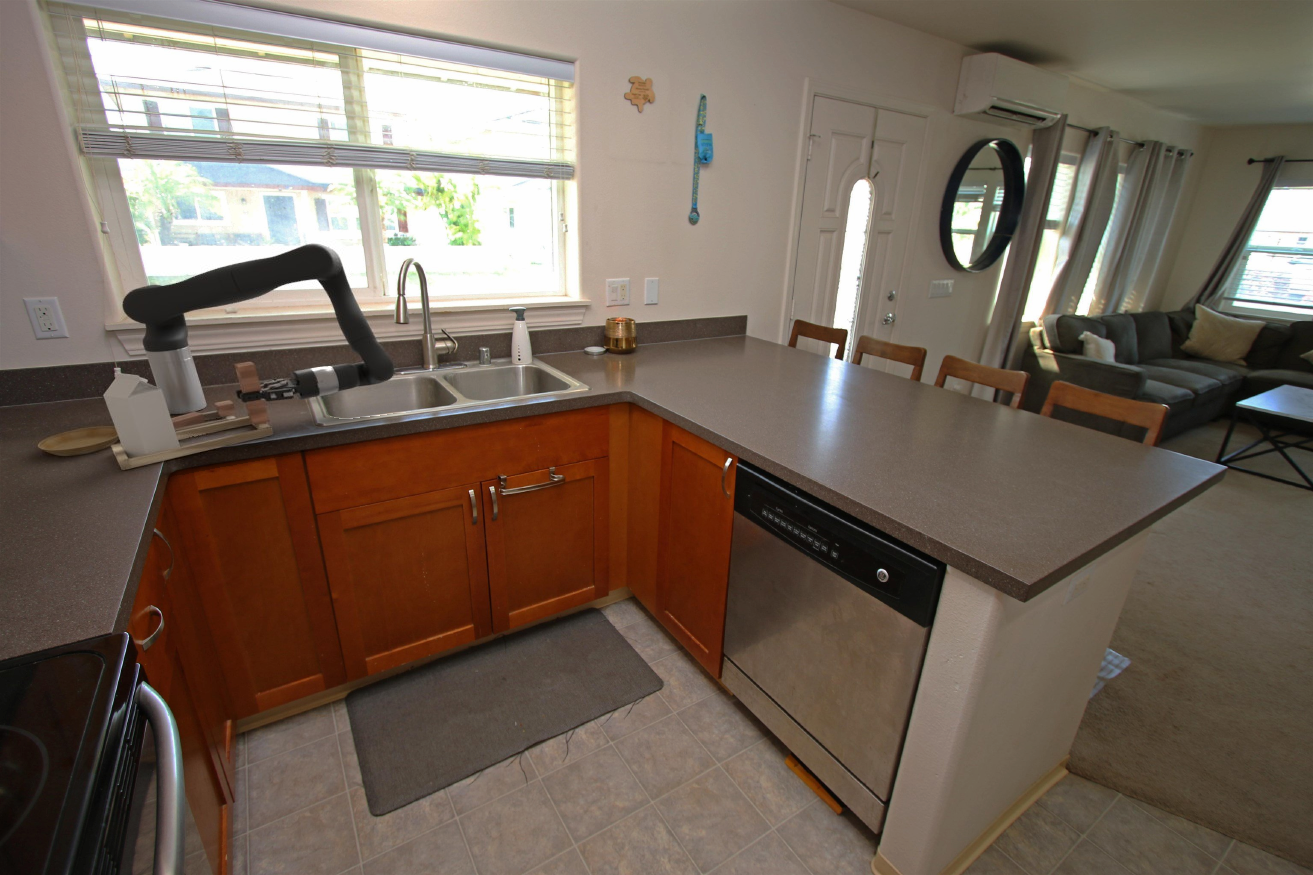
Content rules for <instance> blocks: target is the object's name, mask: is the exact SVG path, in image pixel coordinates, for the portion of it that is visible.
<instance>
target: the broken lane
mask: <svg viewBox="0 0 1313 875" xmlns="http://www.w3.org/2000/svg"><path fill="white" fill-rule="evenodd" d="M214 407H215V409H216V410H213V411H212V410H211V411H208V412H203V413H202V412H198V411H194V412H189V413H184V414H183V415H182V414H181V415H179V416H176V417H171V420H172V423H173V426H174V429H175V432H176V431H181V430H186V429H190V428H195V427H200V426H205V425H209V424H214V423H219V422H223V421H228V420H233V419H237V417H236V416H234V415H237V410H236V408H235V405H234V402H232V401H231V400H230V399H229V400H223V401H218V402H215V403H214ZM221 417H222V418H221ZM216 418H217V419H219V420H217V419H216ZM209 419H212V420H211V421H210V420H209ZM205 420H208V421H205Z"/></svg>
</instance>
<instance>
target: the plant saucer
mask: <svg viewBox="0 0 1313 875" xmlns="http://www.w3.org/2000/svg"><path fill="white" fill-rule="evenodd" d="M119 440H120V439H119V436H118V434H117V431H116V428H115V426H113V425H111V426H109V425H107V426H106V425H103V426H92V427H84V428H79V429H74V430H73V429H72V430H70V431H69V430H68V431H65V432H62V433H59V434H55V435H53V436H49V437H47V438H45V439H43V440H41V441H39V443H38V444H37V447H38V448H39V449H40V450H42V451H44V452H46V453H48V454H52V455H54V456H58V457H71V456H79V455H80V456H81V455H85V454H91V453H94V452H98V451H102V450H104V449H106V448H109V447H111V445H115V444H117V442H118V441H119ZM114 443H115V444H114Z"/></svg>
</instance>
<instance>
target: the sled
mask: <svg viewBox="0 0 1313 875" xmlns="http://www.w3.org/2000/svg"><path fill="white" fill-rule="evenodd" d="M234 368H235V371H236V374H237V375H236V376H237V378H238V381H239V385H240V389H241V390H242V393H246V392H252V391H258V392H259V390H261V389H262V388H261V386H260V383H259V382H260V380H259V375H258V372H257V367H256V364H255V363H253V362H252V361H246V362H245V361H244V362H240V363H239V362H238V363H234ZM244 404H245V408H246V411H247V415H248V416H243V417H238V418H236V419H233V420H228V421H223V422H219V423H214V424H209V425H205V426H200V427H195V428H190V429H186V430H181V431H176V435H177V439H178V441H179V440H184V439H185V440H186V439H189V437H190V438H193V437H192V436H194V437H197V436H198V435H199V436H202V434H203V435H207V434H206V433H208V434H211V433H216V432H220V431H225V430H229V429H233V428H239V427H243V426H249V425H252V426H254V427H255V428H256V429H254V430H249V431H245V432H241V433H236V434H231V435H227V436H223V437H218V438H214V439H210V440H205V441H202V442H201V441H200V442H196V443H192V444H188V445H183V446H180V447H178V448H174V449H169V450H165V451H160V452H156V453H152V454H147V455H143V456H138V457H134V458H130V459H129V458H128V457H127V456H126V454H125V452H124V450H123V447H122V444H121V442H120V443H115V444H113V445H111V446H110V448H111V449H112V452H113V454H114V457H115V459H116V461H117V463H118V465H119V467H120V469H121V470H122V471H125V470H130V469H133V468H137V467H142V466H146V465H150V464H154V463H158V462H164V461H167V460H171V459H175V458H180V457H184V456H189V455H193V454H197V453H200V452H205V451H209V450H210V451H211V450H214V448H215V449H219V448H221V447H223V448H224V447H228V446H231V445H235V444H239V443H243V442H248V441H252V440H255V439H261V438H265V437H269V436H274V431H273V428H272V427H271V426H270V425H269V424H268V423H269V422H271V421H270V418H269V413H268V411H267V410H268V409H267V405H266V401H265V400H261V399H260V400H256V401H250V402H245V403H244Z"/></svg>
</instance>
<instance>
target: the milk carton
mask: <svg viewBox="0 0 1313 875" xmlns="http://www.w3.org/2000/svg"><path fill="white" fill-rule="evenodd" d="M114 376H115V379H114V380H113V381H112V383H111V384H110V386H109V387H108V388H107V389H106V391H105V392H104V393H103V397H104V401H105V403H106V407H107V409H108V412H109V415H110V417H111V420H112V422H113V425H114V427H115V428H116V431H117V434H118V436H119V439H118V440H119V441H120V443H121V444H122V447H123V450H124V452H125V454H126V456H127V457H128V459H130V458H134V457H138V456H143V455H147V454H152V453H156V452H160V451H165V450H169V449H174V448H178V447H181V445H180V442H179V440H178V439H177V435H176V432H175V429H174V426H173V423H172V420H171V418H172V417H171V414H169V411H168V408H167V405H166V402H165V399H164V396H163V393H162V390H161V389H160V388H158V387H157V385H156V386H155V385H153V384H151V383H148V381H149V380H148V379H146V378H144V377H140V375H137V374H128V373H121V372H114Z"/></svg>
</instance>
